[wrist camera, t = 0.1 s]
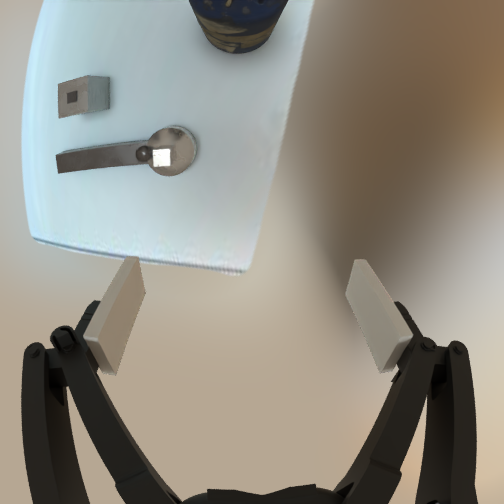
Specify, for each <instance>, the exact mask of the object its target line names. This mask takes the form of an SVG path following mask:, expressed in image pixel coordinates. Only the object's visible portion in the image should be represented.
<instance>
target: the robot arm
mask: <svg viewBox="0 0 504 504" xmlns="http://www.w3.org/2000/svg"><path fill="white" fill-rule="evenodd" d="M145 294H146V292H145V288H144V283H143V278H142V273H141V268H140V263H139V258H138V257H133V256H127V257H126V259H125V260H124V262H123V264H122V265H121V267H120V269H119V270H118V272H117V274H116V275H115V277H114V279H113V281H112V282H111V284H110V286H109V288H108V290H107V291H106V293H105V295H104V297H103V298H102V300H101V301H96V300H95V301H93V302H92V303H91V304H90V305H89V306H88V307H87V309H86V310H85V312H84V314H83V316H82V317H81V320H80V321H79V323H78V325H77V327H76V329H75V330H73V328H72V327H70V326H61V327H58V328H56V329H55V330H54V331H53V332H52V334H51V336H50V341H51V342H52V344H53V346H54V348H52V349H45V348H44V346H43V345H42V344H41V343H39V342H35V343H32V344H30V345H29V346H28V347H27V348H26V349H25V352H24V359H23V371H22V392H21V398H22V399H21V407H22V408H21V409H22V411H21V413H22V434H23V447H24V456H25V463H26V470H27V476H28V482H29V487H30V492H31V496H32V500H33V504H90V502H89V499H88V496H87V493H86V490H85V486H84V482H83V479H82V475H81V471H80V468H79V464H78V459H77V455H76V450H75V445H74V440H73V435H72V429H71V423H70V416H69V409H68V400H67V390H66V387H67V386H69V389H70V391H71V394H72V397H73V399H74V402H75V404H76V407H77V409H78V411H79V414H80V416H81V418H82V421H83V423H84V425H85V427H86V429H87V431H88V433H89V436H90V438H91V439H92V442H93V444H94V445H95V447H96V449H97V451H98V453H99V455H100V457H101V459H102V460H103V462H104V464H105V466H106V467H107V469H108V471H109V472H110V474H111V476H112V477H113V479H114V481H115V483H116V484H115V487H116V489H117V491H118V493H119V494H120V496H121V497H122V499H123V500H124V502H125V503H126V504H388V503H389V501H390V499H391V497H392V496H393V494H394V492H395V490H396V487H397V486H398V483H399V481H400V479H401V476H402V473H401V471H400V468H401V465H402V463H403V461H404V458H405V456H406V454H407V451H408V449H409V447H410V444H411V441H412V439H413V436H414V433H415V431H416V428H417V425H418V422H419V419H420V416H421V413H422V410H423V407H424V403H425V400H426V397H427V415H426V431H425V441H424V451H423V459H422V466H421V472H420V478H419V484H418V489H417V495H416V501H415V504H478V502H477V496H476V490H475V473H476V451H477V434H476V410H475V398H474V388H473V380H472V373H471V367H470V360H469V354H468V350H467V348H466V346H465V345H464V344H463V343H461V342H459V341H452V342H451V343H450V344H449V345H448V347H442V346H437V345H436V343H435V342H434V341H433V340H431V339H430V338H427V337H423V335H422V334H421V332H420V330H419V329H418V327H417V325H416V324H415V322H414V321H413V320H412V317H411V316H410V315H409V313H408V311H407V309H406V308H405V307H404V306H403V305H402V304H401V303H400V302H393V300H392V299H391V297H390V296H389V294H388V293H387V291H386V290H385V288H384V287H383V285H382V284H381V282H380V280H379V279H378V277H377V276H376V274H375V273H374V271H373V270H372V268H371V267H370V265H369V264H368V262H367V261H366V260H365V259H361V260H360V259H355V260H354V264H353V268H352V272H351V276H350V279H349V283H348V287H347V290H346V293H345V295H346V297H347V299H348V302H349V304H350V306H351V308H352V310H353V312H354V315H355V317H356V319H357V321H358V323H359V326H360V328H361V330H362V332H363V334H364V337H365V339H366V341H367V344H368V346H369V348H370V351H371V353H372V355H373V358H374V360H375V363H376V365H377V367H378V370H379V372H380V373H385V372H390V371H392V370H393V369H394V367H395V366H396V364H397V366H398V368H399V370H398V372H397V373H396V375H395V376H394V378H393V379H392V381H391V382H393V384H392V386H391V389H390V391H389V393H388V396H387V398H386V400H385V402H384V405H383V407H382V409H381V411H380V413H379V416H378V418H377V420H376V422H375V424H374V426H373V428H372V430H371V432H370V434H369V436H368V438H367V440H366V441H365V443H364V445H363V447H362V449H361V450H360V452H359V454H358V456H357V457H356V459H355V461H354V463H353V464H352V466H351V468H350V469H349V471H348V473H347V474H346V476H345V477H344V478H343V479H342V480H341V482H340V483H339V484H338V485H337V486H336V488H335V489H334V490H333V491H331V490H327V489H323V488H316V484H310V485H303V486H295V487H288V488H285V489H282V490H279V491H276V492H273V493H269V494H266V495H258V494H253V493H247V492H242V491H238V490H221V489H220V490H219V489H207V493H202V494H198V495H195V496H193V497H190V498H188V499H186V500H184V501H183V502H182V501H181V500H180V499H179V497H177V495H176V494H175V493H174V492H173V491H172V489H171V488H170V487H169V486H168V485H167V484H166V483H165V482H164V480H163V479H162V478H161V477H160V475H159V474H158V473H157V471H156V470H155V469H154V467H153V466H152V465H151V463H150V462H149V461H148V459H147V458H146V456H145V455H144V453H143V452H142V451H141V449H140V448H139V446H138V445H137V444H136V442H135V440H134V439H133V437H132V436H131V434H130V432H129V431H128V429H127V427H126V426H125V424H124V423H123V421H122V419H121V417H120V416H119V414H118V412H117V410H116V409H115V407H114V405H113V403H112V401H111V400H110V398H109V396H108V394H107V392H106V390H105V388H104V386H103V384H102V382H101V380H100V378H99V376H98V374H97V370H98V367H99V368H100V369H101V371H102V373H104V374H109V375H116V374H117V371H118V368H119V365H120V362H121V359H122V356H123V353H124V350H125V347H126V344H127V341H128V338H129V336H130V333H131V330H132V327H133V324H134V322H135V319H136V317H137V314H138V311H139V309H140V306H141V304H142V301H143V299H144V296H145Z"/></svg>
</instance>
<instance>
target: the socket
mask: <svg viewBox="0 0 504 504" xmlns="http://www.w3.org/2000/svg"><path fill="white" fill-rule="evenodd" d="M105 109H110V107H109V77H100V76H89V75H87V76H84V77H80V78H76V79H73V80H70V81H66V82H63V83H60V84H58V113H59V118H64V117H69V116H74V115H79V114H85V113H89V112H94V111H99V110H105Z"/></svg>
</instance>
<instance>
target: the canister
mask: <svg viewBox="0 0 504 504" xmlns="http://www.w3.org/2000/svg"><path fill="white" fill-rule="evenodd" d="M189 2H190V4H191V7H192V9H193V11H194V13H195V15H196V18H197V20H198V22H199V24H200V26H201V27H202V29H203V31H204V33H205V35H206V37H207V39H208V40H209V41H210V42H211V44H213V45H214V46H215V47H217V48H218V49H220V50H223V51H226V52H230V53H245V52H249V51H252V50H255V49H257V48H258V47H260V46H261V45H263V44H264V43H265V42H266V41H267V40H268V38H269V37H270V35H271V33H272V31H273V29H274V27H275V25H276V23H277V21H278V19H279V17H280V15H281V13H282V11H283V9H284V8H285V6H286V4H287V2H288V0H189Z"/></svg>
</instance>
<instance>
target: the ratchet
mask: <svg viewBox="0 0 504 504" xmlns="http://www.w3.org/2000/svg"><path fill="white" fill-rule="evenodd" d="M196 152H197V144H196V140H195V138H194V136H193V135H192V134H191V133H190V132H189V131H188V130H187V129H185V128H183V127H179V126H170V127H167V128H164V129H161V130H159V131H157V132H156V133H154V134H153V135H152V136H151V138H150V139H149V140H143V141H133V142H124V143H115V144H107V145H100V146H93V147H87V148H80V149H75V150H69V151H64V152H62V153H59V154H57V155H56V161H57V169H58V174H59V173H65V172H72V171H80V170H88V169H96V168H105V167H115V166H127V165H139V164H149V166H150V167H151V168H152V169H153V170H154V171H155V172H157V173H158V174H160V175H164V176H175V175H178V174H180V173H182V172H183V171H185V170H186V169H187V168H188V167H189V165H190V164H191V163H192V161H193V160H194V158H195V156H196Z"/></svg>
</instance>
